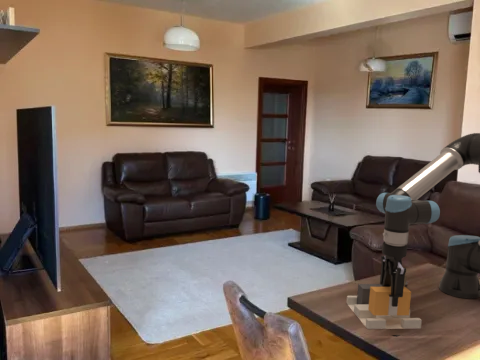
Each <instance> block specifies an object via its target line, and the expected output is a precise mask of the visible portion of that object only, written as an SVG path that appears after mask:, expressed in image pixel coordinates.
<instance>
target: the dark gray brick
mask: <svg viewBox="0 0 480 360" xmlns="http://www.w3.org/2000/svg"><path fill="white" fill-rule="evenodd" d="M370 287H382V285H381V284H380V283H358V284H357V295H356V296H357V304H369V297H370Z"/></svg>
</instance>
